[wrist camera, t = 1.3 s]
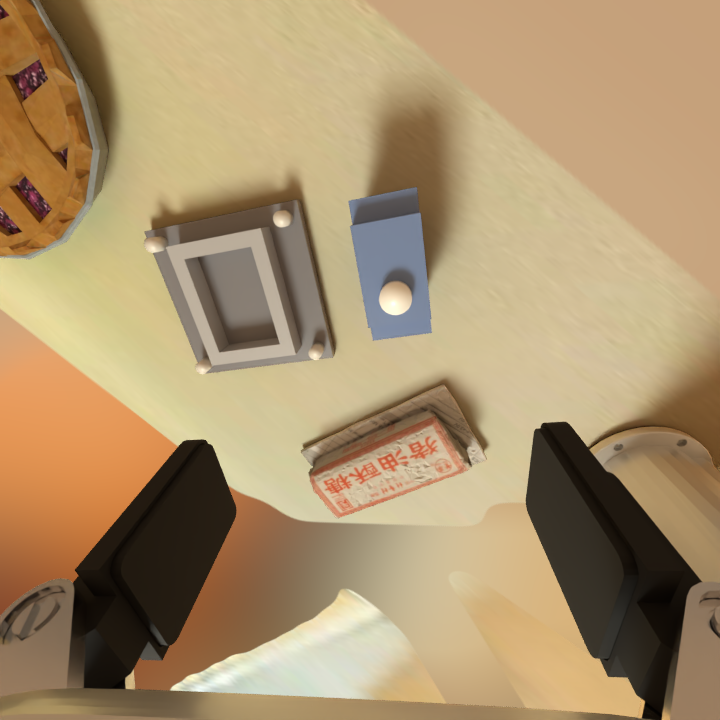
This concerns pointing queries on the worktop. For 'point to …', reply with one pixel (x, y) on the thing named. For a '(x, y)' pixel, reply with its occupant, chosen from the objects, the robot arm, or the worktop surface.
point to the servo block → (391, 263)
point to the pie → (43, 135)
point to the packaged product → (393, 453)
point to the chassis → (245, 288)
